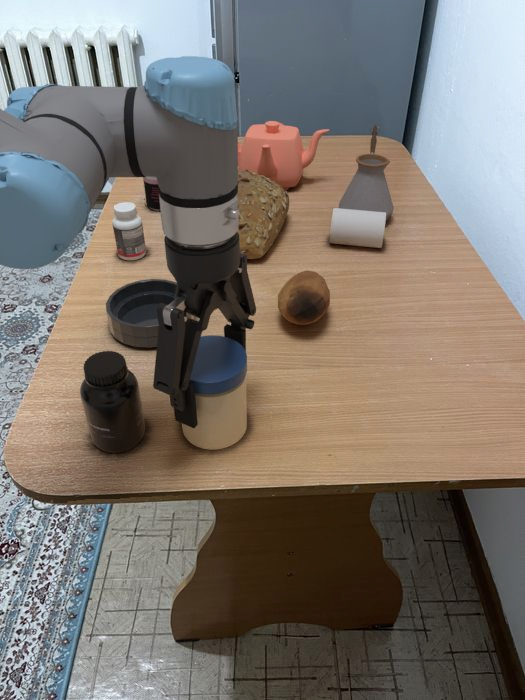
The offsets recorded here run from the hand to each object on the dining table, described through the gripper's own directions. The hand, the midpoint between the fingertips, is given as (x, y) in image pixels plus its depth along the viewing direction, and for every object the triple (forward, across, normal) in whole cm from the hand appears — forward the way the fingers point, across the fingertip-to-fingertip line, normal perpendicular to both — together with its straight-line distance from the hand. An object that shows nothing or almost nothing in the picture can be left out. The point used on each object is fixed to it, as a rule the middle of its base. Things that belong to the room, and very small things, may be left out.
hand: (212, 393), depth 70 cm
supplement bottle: (+6, -7, +10) cm, 13 cm away
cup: (+6, +55, +2) cm, 55 cm away
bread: (+6, +46, +26) cm, 53 cm away
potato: (+6, +27, +1) cm, 28 cm away
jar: (+6, 0, 0) cm, 6 cm away
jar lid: (-5, 0, 0) cm, 5 cm away
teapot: (+6, +74, +31) cm, 80 cm away
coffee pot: (+6, +71, +6) cm, 71 cm away
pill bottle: (+6, +30, +38) cm, 49 cm away
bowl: (+6, +14, +21) cm, 25 cm away
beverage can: (+6, +50, +46) cm, 69 cm away
